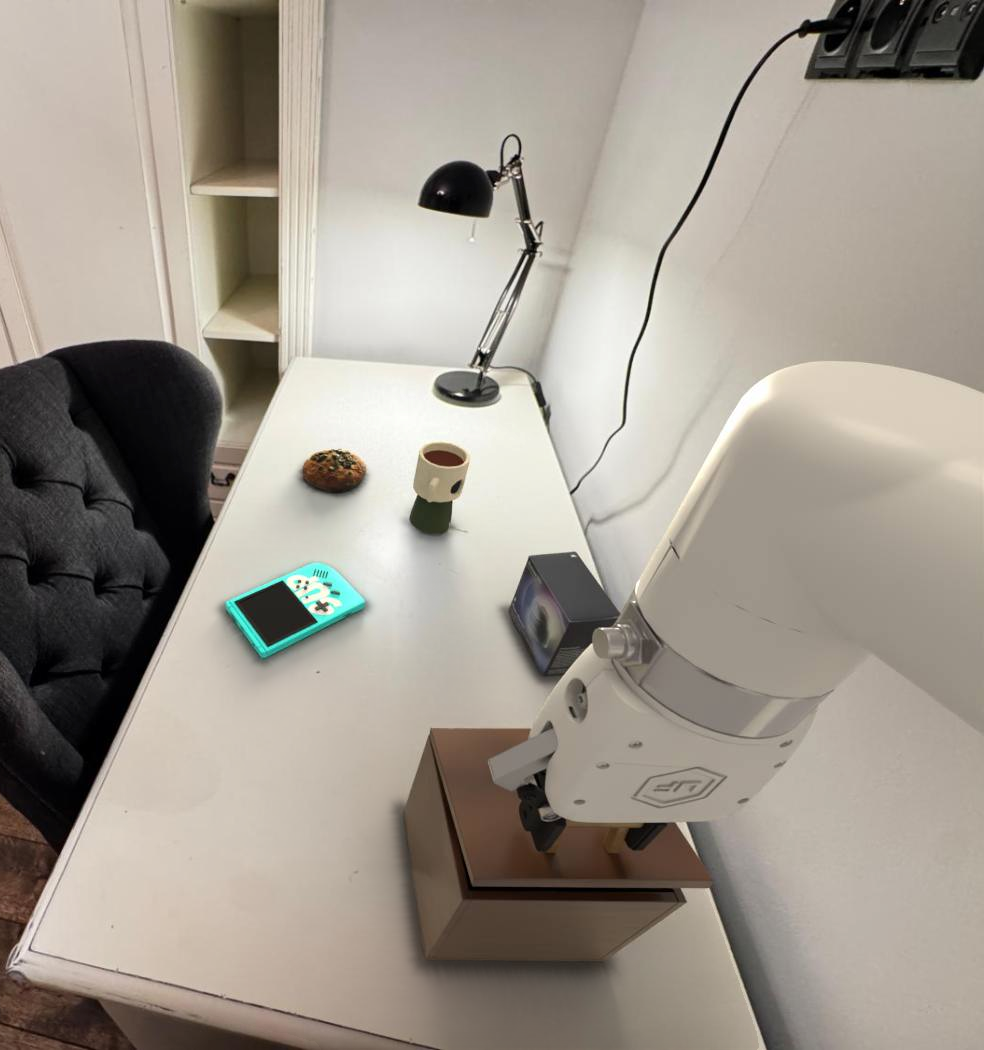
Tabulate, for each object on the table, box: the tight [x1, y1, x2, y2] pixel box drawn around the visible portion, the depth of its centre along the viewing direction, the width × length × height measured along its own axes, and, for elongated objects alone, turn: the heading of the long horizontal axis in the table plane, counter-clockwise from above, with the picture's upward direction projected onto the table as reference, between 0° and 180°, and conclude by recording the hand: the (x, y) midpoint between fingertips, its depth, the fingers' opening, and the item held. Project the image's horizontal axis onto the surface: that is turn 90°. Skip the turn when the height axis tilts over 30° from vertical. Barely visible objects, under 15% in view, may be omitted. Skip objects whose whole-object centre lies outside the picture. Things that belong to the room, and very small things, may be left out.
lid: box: [428, 727, 714, 889], centre depth 39 cm, size 12×15×6 cm
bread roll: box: [301, 448, 368, 494], centre depth 97 cm, size 11×11×5 cm
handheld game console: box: [225, 562, 366, 659], centre depth 75 cm, size 10×16×1 cm, turn 122°
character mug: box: [408, 440, 471, 536], centre depth 84 cm, size 11×7×13 cm, turn 154°
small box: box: [507, 550, 621, 678], centre depth 68 cm, size 11×6×10 cm, turn 6°
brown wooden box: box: [402, 734, 688, 962], centre depth 46 cm, size 12×15×15 cm
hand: (579, 825), depth 37 cm, fingers closed on lid, 5 cm apart
